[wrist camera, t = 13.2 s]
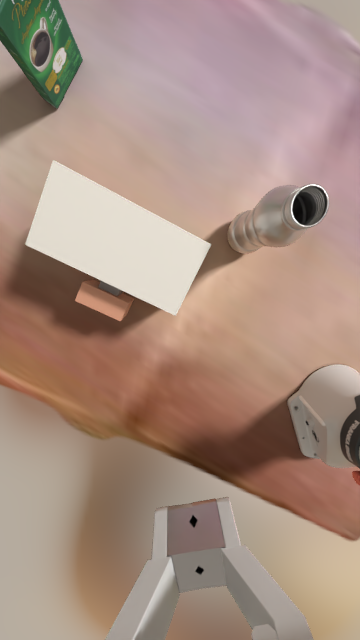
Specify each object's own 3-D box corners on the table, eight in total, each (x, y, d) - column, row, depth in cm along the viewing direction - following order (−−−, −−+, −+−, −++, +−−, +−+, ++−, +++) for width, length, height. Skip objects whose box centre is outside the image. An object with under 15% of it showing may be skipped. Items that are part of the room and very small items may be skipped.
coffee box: (67, 44, 33) (3, -95, 20) (85, 58, 34) (32, -67, 21) (41, 97, 34) (-35, -2, 22) (58, 110, 35) (-6, 22, 22)
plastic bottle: (218, 245, 40) (261, 227, 21) (235, 207, 39) (298, 150, 20) (249, 260, 41) (319, 256, 22) (267, 224, 40) (359, 185, 21)
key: (127, 314, 38) (120, 321, 33) (87, 296, 37) (74, 300, 32) (151, 259, 36) (149, 258, 31) (110, 238, 35) (101, 234, 30)
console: (174, 300, 42) (175, 315, 30) (71, 251, 40) (25, 244, 27) (198, 250, 41) (211, 244, 28) (92, 195, 38) (53, 159, 25)
